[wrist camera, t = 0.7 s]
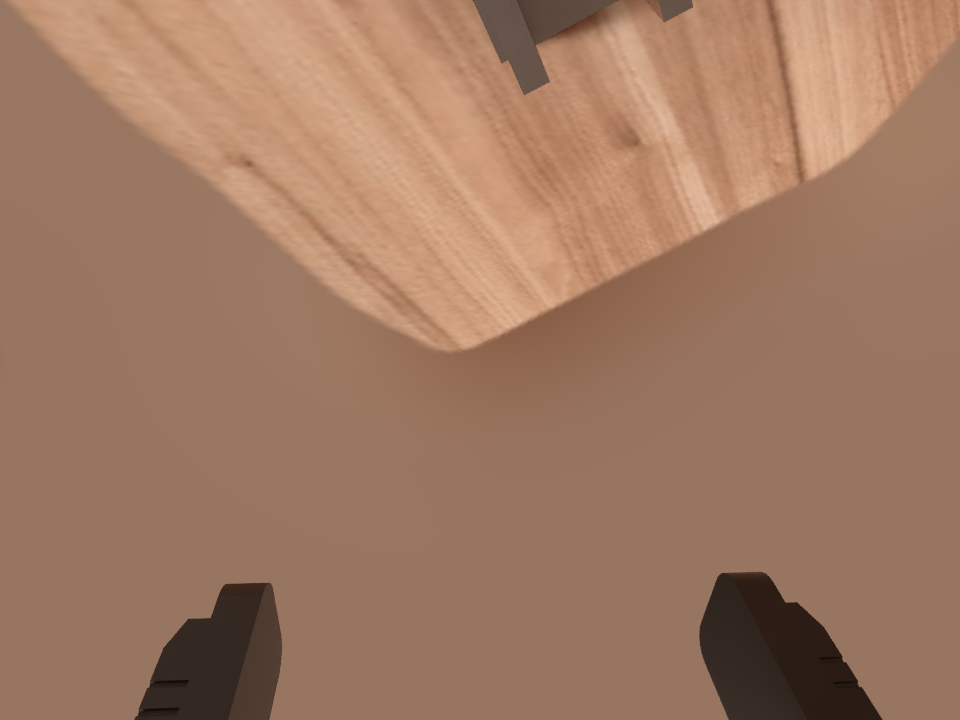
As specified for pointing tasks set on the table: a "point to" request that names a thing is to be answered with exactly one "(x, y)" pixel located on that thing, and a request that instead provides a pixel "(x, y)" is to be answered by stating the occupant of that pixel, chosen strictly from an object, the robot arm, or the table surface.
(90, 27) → the table surface
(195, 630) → the robot arm
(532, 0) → the dish rack
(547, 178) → the table surface
